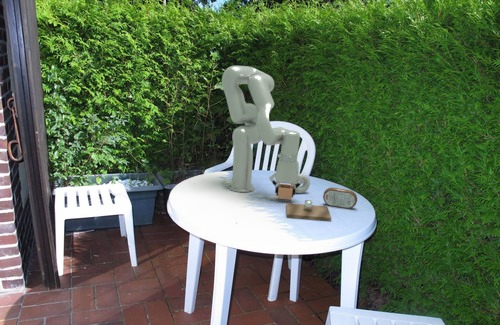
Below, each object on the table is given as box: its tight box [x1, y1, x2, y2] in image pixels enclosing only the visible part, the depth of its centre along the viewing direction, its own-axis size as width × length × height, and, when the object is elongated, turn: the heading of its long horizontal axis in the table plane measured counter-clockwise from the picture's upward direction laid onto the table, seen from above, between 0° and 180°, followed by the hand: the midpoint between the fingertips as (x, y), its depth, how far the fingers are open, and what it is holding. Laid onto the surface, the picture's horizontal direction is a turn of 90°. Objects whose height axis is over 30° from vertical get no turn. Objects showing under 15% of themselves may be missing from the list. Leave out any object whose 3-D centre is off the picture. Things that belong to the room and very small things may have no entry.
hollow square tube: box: [277, 183, 293, 201], centre depth 180 cm, size 6×6×5 cm
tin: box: [322, 186, 358, 210], centre depth 176 cm, size 15×3×8 cm, turn 71°
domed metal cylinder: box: [304, 199, 313, 212], centre depth 165 cm, size 3×3×4 cm
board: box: [285, 202, 332, 222], centre depth 166 cm, size 18×14×2 cm
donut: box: [290, 173, 311, 194], centre depth 192 cm, size 10×4×10 cm, turn 104°
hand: (284, 195), depth 180 cm, fingers closed on hollow square tube, 6 cm apart
